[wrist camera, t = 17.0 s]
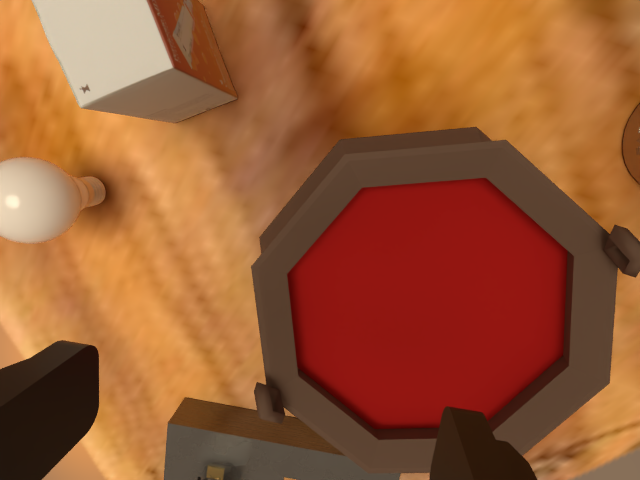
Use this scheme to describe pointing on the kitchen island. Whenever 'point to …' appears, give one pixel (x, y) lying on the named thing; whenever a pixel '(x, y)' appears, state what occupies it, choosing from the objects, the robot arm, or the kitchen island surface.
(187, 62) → the small box
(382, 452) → the brown cooking pot
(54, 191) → the lightbulb
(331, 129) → the kitchen island surface
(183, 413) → the keyhole plate
